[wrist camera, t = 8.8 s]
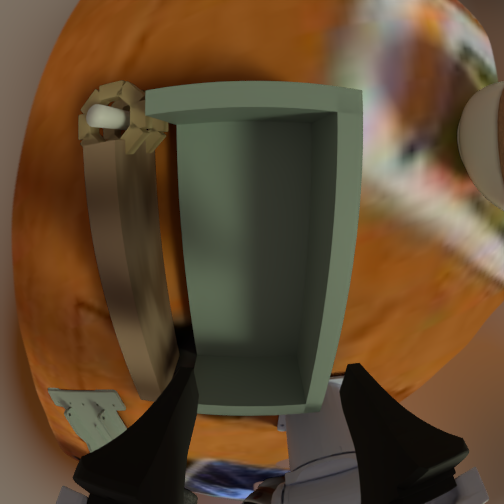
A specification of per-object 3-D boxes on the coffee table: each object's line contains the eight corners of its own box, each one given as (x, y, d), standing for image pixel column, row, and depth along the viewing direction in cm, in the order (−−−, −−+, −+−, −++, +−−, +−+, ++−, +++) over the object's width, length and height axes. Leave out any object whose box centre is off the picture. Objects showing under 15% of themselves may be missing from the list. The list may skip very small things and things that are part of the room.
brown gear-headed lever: (192, 354, 23) (179, 404, 17) (147, 350, 23) (127, 396, 17) (172, 91, 15) (138, 69, 10) (115, 101, 15) (68, 89, 10)
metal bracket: (158, 472, 24) (84, 460, 26) (170, 447, 30) (100, 441, 32) (103, 389, 24) (37, 387, 25) (126, 367, 29) (59, 371, 31)
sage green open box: (306, 355, 23) (319, 411, 17) (163, 353, 23) (143, 406, 17) (325, 109, 16) (362, 90, 10) (132, 116, 16) (81, 106, 10)
